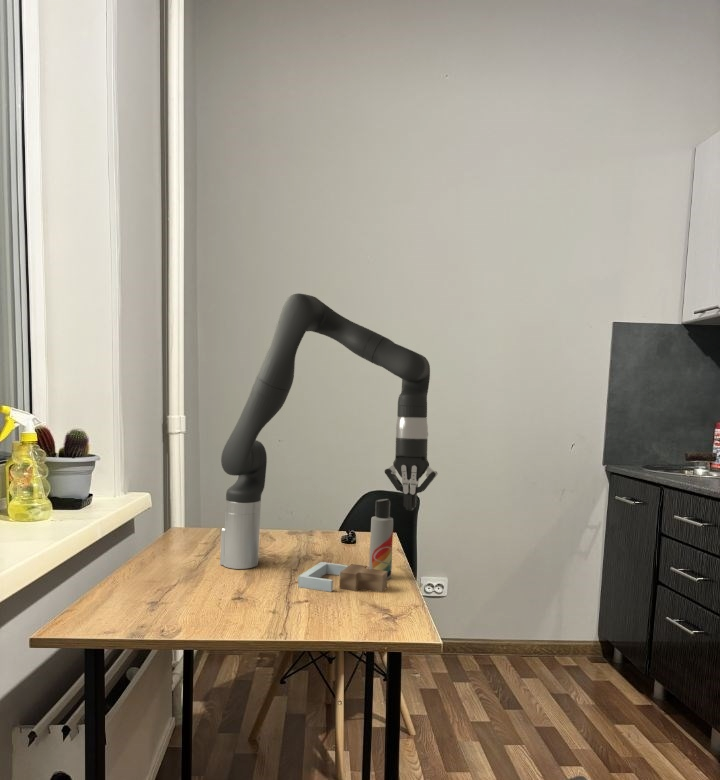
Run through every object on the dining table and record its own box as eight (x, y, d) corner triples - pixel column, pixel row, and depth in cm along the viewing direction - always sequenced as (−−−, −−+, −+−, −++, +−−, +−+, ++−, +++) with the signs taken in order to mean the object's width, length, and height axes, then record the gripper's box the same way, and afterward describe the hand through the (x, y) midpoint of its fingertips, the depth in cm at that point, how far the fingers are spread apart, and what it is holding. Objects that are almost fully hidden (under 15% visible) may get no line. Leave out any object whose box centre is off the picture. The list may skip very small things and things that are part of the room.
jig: (297, 586, 138) (298, 576, 138) (320, 571, 151) (321, 561, 151) (330, 591, 135) (331, 581, 135) (351, 575, 148) (351, 565, 149)
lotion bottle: (389, 581, 145) (392, 501, 146) (367, 578, 146) (370, 499, 147) (392, 574, 151) (395, 497, 151) (371, 572, 152) (374, 496, 152)
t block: (339, 589, 138) (340, 572, 138) (350, 579, 145) (351, 563, 145) (379, 595, 135) (380, 577, 135) (389, 585, 142) (389, 569, 142)
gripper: (380, 435, 136) (378, 509, 135) (435, 438, 132) (434, 514, 131) (389, 434, 143) (387, 505, 142) (442, 436, 139) (440, 509, 138)
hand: (410, 509), depth 137 cm, fingers closed
